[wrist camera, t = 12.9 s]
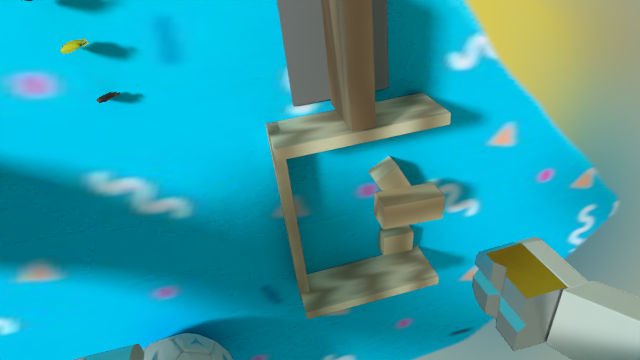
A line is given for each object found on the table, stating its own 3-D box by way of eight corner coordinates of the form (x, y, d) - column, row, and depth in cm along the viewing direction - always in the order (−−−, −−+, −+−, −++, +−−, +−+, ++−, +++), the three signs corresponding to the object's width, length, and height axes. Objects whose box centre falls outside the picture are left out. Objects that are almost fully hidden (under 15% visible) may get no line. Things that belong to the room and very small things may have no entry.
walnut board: (331, 104, 40) (352, 131, 34) (318, -29, 34) (341, -22, 28) (351, 100, 40) (376, 126, 35) (343, -32, 34) (370, -27, 28)
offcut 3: (377, 245, 53) (383, 255, 51) (378, 228, 51) (384, 238, 50) (405, 239, 53) (412, 249, 52) (407, 222, 52) (413, 231, 50)
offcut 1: (397, 210, 50) (407, 224, 48) (367, 169, 46) (376, 182, 44) (417, 197, 50) (427, 210, 48) (388, 154, 46) (398, 167, 43)
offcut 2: (429, 203, 47) (442, 218, 45) (374, 213, 46) (383, 229, 43) (432, 182, 46) (445, 196, 43) (374, 192, 44) (384, 207, 42)
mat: (293, 104, 40) (293, 106, 39) (274, -16, 34) (275, -16, 33) (386, 86, 41) (388, 87, 41) (384, -33, 35) (386, -33, 35)
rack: (297, 283, 52) (306, 319, 47) (265, 123, 40) (273, 149, 35) (417, 252, 55) (438, 283, 50) (422, 92, 42) (450, 112, 37)
